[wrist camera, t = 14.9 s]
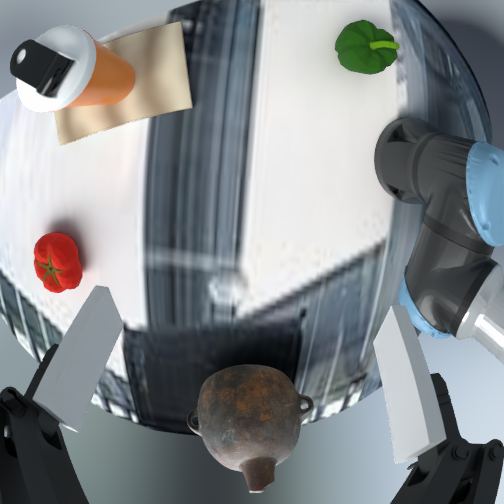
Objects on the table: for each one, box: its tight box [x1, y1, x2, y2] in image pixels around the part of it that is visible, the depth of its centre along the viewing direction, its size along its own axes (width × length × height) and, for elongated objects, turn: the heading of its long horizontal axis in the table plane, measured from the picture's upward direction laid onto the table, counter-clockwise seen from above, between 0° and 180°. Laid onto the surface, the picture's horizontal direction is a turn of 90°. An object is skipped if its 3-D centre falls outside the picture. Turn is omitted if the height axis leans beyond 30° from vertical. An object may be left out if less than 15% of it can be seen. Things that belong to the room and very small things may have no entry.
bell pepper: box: [335, 20, 399, 74], centre depth 29 cm, size 8×8×10 cm
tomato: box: [34, 232, 82, 293], centre depth 41 cm, size 10×11×6 cm
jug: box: [187, 365, 314, 493], centre depth 48 cm, size 24×21×30 cm
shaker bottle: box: [10, 25, 135, 112], centre depth 22 cm, size 9×9×20 cm
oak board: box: [54, 21, 193, 146], centre depth 32 cm, size 22×14×2 cm, turn 97°
